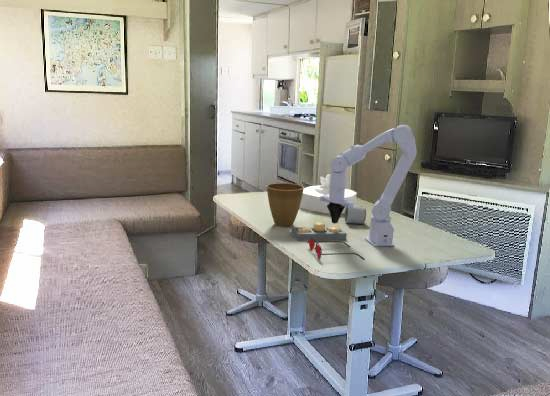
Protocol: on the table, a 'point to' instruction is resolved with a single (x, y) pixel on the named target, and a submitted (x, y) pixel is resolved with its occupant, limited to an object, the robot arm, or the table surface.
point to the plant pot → (284, 202)
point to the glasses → (319, 250)
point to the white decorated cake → (314, 192)
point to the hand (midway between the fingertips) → (334, 222)
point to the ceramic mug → (355, 215)
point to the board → (318, 234)
